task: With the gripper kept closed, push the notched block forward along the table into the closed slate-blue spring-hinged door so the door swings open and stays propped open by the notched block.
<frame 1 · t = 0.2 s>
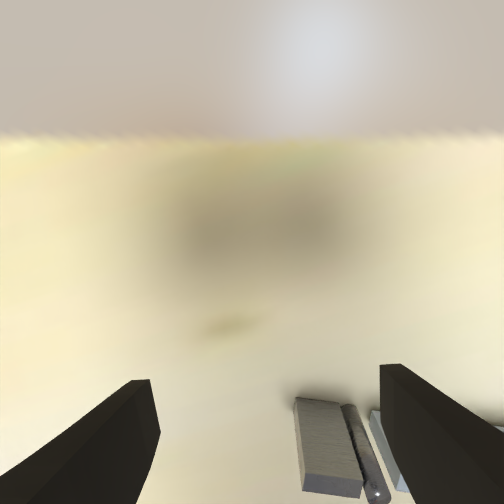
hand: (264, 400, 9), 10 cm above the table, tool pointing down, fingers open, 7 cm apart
door frame: (348, 411, 21), on the table
door: (492, 453, 18), point 3 cm above the table, hinge at 0.0°
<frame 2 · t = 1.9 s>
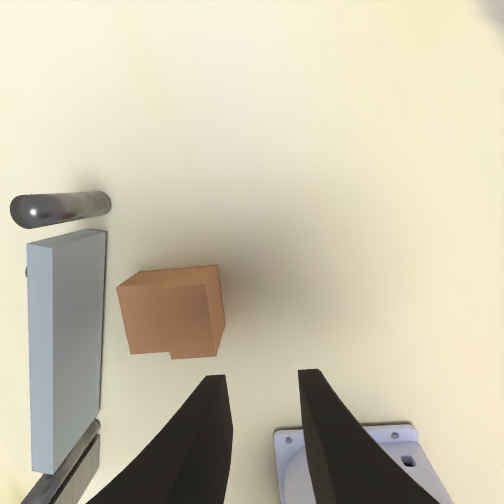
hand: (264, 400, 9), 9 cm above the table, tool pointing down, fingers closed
door frame: (92, 424, 21), on the table
door: (61, 345, 17), point 3 cm above the table, hinge at 0.0°
notched block: (183, 297, 19), on the table
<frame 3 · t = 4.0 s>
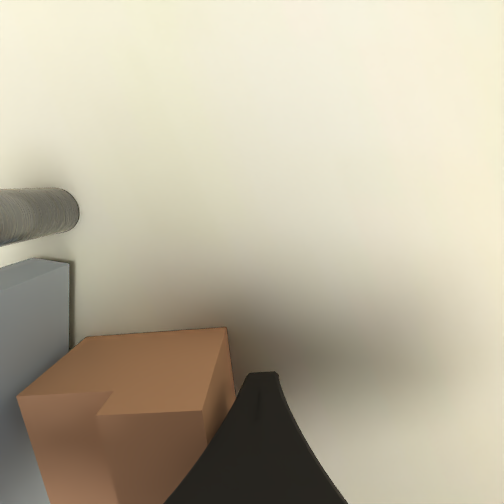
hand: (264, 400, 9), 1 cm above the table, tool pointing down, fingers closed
notched block: (164, 382, 11), on the table, touching gripper
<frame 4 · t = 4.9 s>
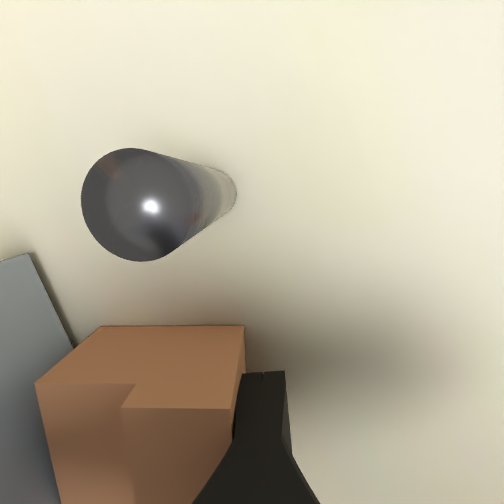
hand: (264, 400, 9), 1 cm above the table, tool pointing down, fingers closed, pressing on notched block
door: (33, 486, 9), point 3 cm above the table, hinge at 25.5°, touching notched block
notched block: (176, 377, 11), on the table, touching door, gripper
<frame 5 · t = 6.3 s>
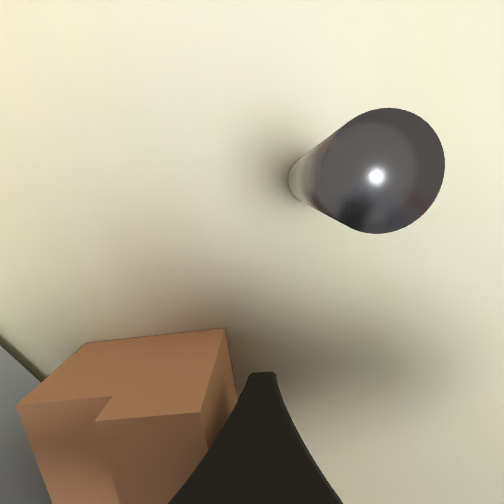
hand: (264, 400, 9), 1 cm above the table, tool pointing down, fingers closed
notched block: (166, 385, 11), on the table, touching door, gripper
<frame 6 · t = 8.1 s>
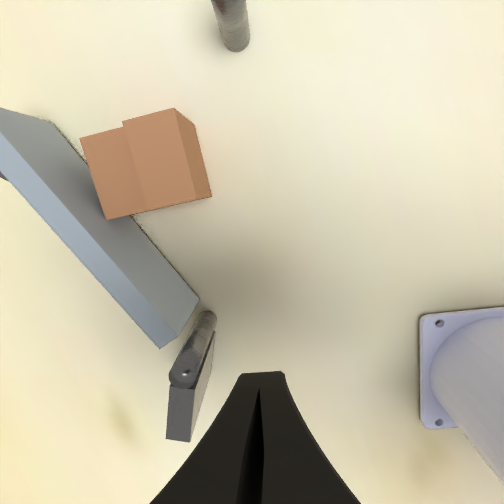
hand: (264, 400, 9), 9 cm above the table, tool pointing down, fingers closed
door frame: (207, 319, 19), on the table
door: (94, 233, 15), point 3 cm above the table, hinge at 44.8°, touching notched block
notched block: (162, 171, 17), on the table, touching door
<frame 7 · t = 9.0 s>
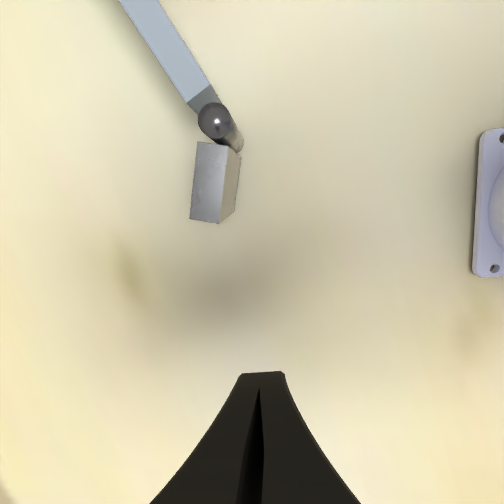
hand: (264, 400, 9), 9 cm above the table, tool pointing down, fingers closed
door frame: (232, 141, 16), on the table
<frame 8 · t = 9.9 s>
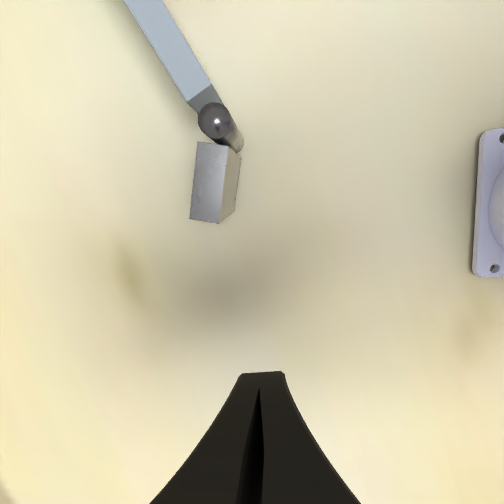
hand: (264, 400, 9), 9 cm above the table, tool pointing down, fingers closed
door frame: (232, 141, 16), on the table
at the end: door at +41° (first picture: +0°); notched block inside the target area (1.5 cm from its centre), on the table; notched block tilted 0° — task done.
